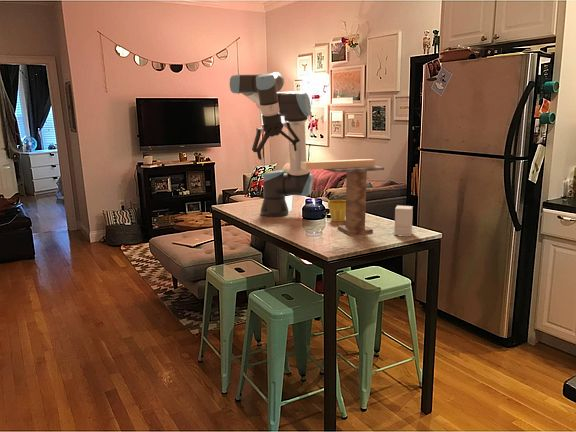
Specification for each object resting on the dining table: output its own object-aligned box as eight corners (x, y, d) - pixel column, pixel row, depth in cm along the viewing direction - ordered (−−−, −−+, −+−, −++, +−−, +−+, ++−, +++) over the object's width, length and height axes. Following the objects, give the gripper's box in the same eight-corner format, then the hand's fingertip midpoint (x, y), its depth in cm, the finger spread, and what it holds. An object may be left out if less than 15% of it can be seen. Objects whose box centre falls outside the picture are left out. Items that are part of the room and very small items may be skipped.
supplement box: (412, 233, 221) (413, 205, 218) (410, 237, 214) (412, 209, 211) (395, 231, 223) (396, 205, 220) (393, 235, 216) (394, 208, 213)
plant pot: (324, 221, 244) (325, 202, 241) (331, 217, 253) (332, 199, 251) (344, 223, 239) (344, 204, 237) (350, 219, 248) (351, 200, 246)
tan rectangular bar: (304, 170, 207) (304, 162, 207) (300, 168, 212) (300, 161, 211) (374, 166, 218) (375, 159, 218) (369, 165, 223) (370, 158, 222)
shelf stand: (333, 237, 214) (334, 169, 207) (321, 230, 226) (322, 166, 220) (381, 232, 221) (384, 167, 215) (366, 225, 234) (368, 164, 228)
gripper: (242, 122, 190) (252, 172, 199) (302, 108, 194) (309, 158, 204) (239, 117, 196) (248, 166, 206) (297, 105, 201) (303, 153, 210)
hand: (278, 162), depth 205 cm, fingers open, 13 cm apart
